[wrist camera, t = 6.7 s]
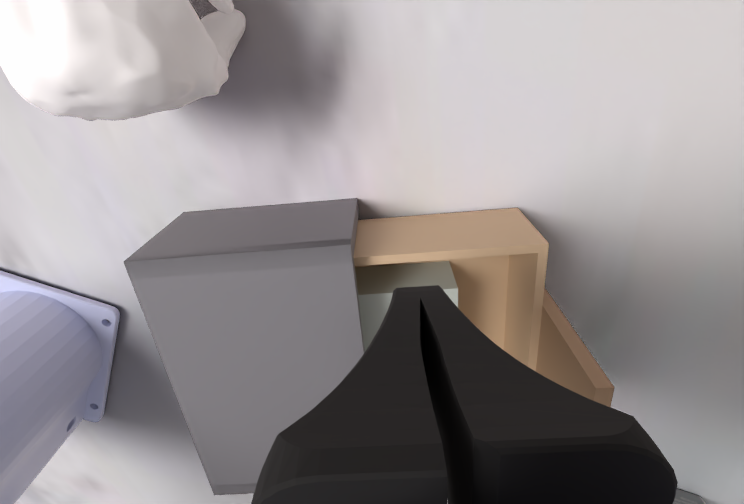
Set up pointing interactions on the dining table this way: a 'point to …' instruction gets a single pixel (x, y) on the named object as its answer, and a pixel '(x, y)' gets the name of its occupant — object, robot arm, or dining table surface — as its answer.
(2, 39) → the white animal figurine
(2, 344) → the robot arm
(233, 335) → the mailer sleeve
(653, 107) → the dining table surface
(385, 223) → the mailer tray
